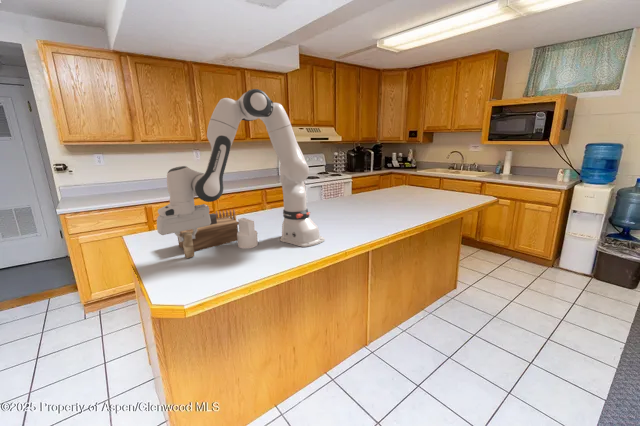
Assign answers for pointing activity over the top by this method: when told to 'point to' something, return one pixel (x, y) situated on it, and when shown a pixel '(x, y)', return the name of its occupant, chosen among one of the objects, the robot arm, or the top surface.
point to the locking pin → (188, 244)
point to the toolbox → (213, 238)
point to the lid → (214, 224)
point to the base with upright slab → (246, 234)
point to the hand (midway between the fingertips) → (187, 240)
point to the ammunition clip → (226, 215)
